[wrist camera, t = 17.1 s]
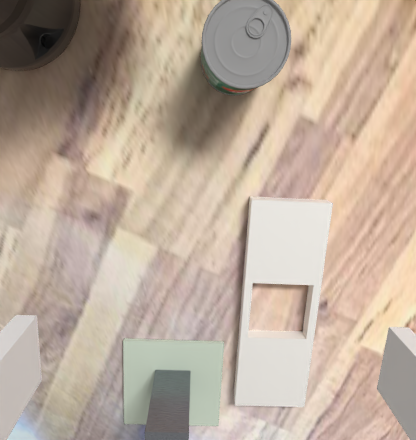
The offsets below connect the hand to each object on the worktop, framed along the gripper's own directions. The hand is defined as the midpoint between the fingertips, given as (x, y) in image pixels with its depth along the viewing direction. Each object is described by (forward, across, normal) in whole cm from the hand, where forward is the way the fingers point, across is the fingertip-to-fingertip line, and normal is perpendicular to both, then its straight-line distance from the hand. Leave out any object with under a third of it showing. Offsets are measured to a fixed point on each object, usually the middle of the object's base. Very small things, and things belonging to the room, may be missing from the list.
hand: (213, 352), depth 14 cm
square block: (+34, -3, -29) cm, 45 cm away
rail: (+35, +11, -16) cm, 40 cm away
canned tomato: (+35, +3, +15) cm, 38 cm away
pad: (+35, -3, -29) cm, 45 cm away
